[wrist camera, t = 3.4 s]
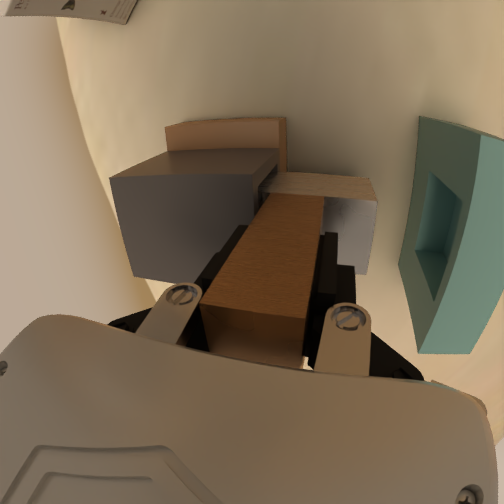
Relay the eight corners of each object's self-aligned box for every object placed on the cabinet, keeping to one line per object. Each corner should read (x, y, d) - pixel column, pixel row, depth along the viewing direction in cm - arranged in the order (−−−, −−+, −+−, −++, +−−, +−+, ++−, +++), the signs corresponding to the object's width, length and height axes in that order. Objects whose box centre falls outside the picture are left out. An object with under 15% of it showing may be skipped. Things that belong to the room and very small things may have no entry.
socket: (419, 115, 16) (481, 134, 8) (464, 125, 15) (541, 155, 7) (398, 264, 22) (418, 353, 14) (437, 268, 21) (469, 354, 13)
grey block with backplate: (183, 122, 21) (103, 145, 13) (285, 117, 19) (250, 132, 11) (197, 235, 26) (141, 298, 18) (286, 243, 24) (258, 320, 16)
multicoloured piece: (155, 171, 19) (15, 260, 9) (368, 178, 15) (413, 328, 6) (163, 223, 21) (50, 330, 11) (361, 239, 17) (370, 414, 8)
